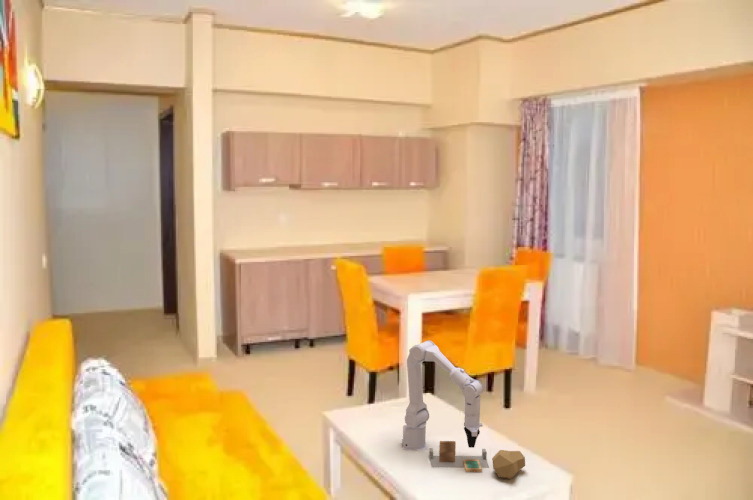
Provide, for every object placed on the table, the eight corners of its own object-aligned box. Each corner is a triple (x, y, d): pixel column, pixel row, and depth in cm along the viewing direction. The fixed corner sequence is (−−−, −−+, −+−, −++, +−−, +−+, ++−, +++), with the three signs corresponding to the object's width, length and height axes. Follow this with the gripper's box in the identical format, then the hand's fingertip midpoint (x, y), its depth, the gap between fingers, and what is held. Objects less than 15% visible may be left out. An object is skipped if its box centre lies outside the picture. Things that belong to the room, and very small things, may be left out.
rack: (431, 468, 246) (431, 459, 246) (429, 456, 256) (429, 448, 256) (489, 469, 246) (489, 460, 246) (485, 457, 256) (485, 448, 256)
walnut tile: (439, 462, 251) (439, 442, 249) (439, 460, 252) (439, 440, 251) (455, 462, 251) (455, 442, 249) (454, 460, 252) (455, 440, 251)
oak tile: (462, 462, 250) (465, 472, 243) (462, 459, 250) (465, 468, 242) (478, 462, 250) (481, 472, 243) (478, 459, 250) (481, 468, 242)
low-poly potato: (495, 486, 234) (524, 476, 230) (483, 456, 237) (512, 445, 234) (504, 479, 247) (532, 470, 244) (493, 451, 251) (520, 441, 247)
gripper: (485, 420, 240) (484, 455, 242) (479, 405, 255) (478, 438, 256) (466, 420, 240) (465, 455, 242) (461, 405, 255) (460, 438, 256)
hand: (471, 446), depth 249 cm, fingers closed
